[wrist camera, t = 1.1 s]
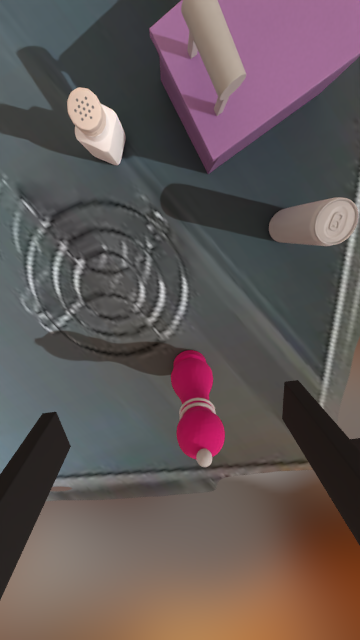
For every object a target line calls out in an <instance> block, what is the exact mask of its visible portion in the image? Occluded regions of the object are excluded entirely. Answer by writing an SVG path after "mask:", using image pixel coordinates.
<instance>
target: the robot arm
mask: <svg viewBox="0 0 360 640" xmlns="http://www.w3.org/2000/svg"><path fill="white" fill-rule="evenodd" d="M282 419H283V421H284V422H285V424H286V426H287V427H288V429H289V431H290V432H291V434H292V435H293V437H294V439H295V440H296V442H297V444H298V445H299V447H300V449H301V450H302V452H303V453H304V455H305V457H306V458H307V460H308V462H309V463H310V465H311V467H312V468H313V470H314V471H315V473H316V475H317V476H318V478H319V480H320V481H321V483H322V485H323V486H324V488H325V489H326V491H327V493H328V494H329V496H330V498H331V499H332V501H333V503H334V504H335V506H336V508H337V509H338V511H339V512H340V514H341V516H342V517H343V519H344V521H345V522H346V524H347V526H348V527H349V529H350V530H351V532H352V533H353V535H354V537H355V538H356V540H357V542H358V543H359V545H360V438H358V439H349V438H348V437H347V436H346V435H345V433H344V432H343V431H342V430H341V429H340V428H339V427H338V425H337V424H336V423H335V422H334V421H333V420H332V419H331V417H330V416H329V415H328V414H327V413H326V412H325V411H324V409H323V408H322V407H321V406H320V405H319V404H318V403H317V401H316V400H315V399H314V398H313V397H312V396H311V395H310V393H309V392H308V391H307V390H306V389H305V388H304V387H303V385H302V384H301V383H300V382H299V381H298V380H296V381H288V382H285V383H284V399H283V415H282ZM70 447H71V446H70V444H69V441H68V439H67V437H66V434H65V432H64V429H63V427H62V425H61V422H60V420H59V418H58V415H57V413H56V412H51V413H43V414H42V415H41V417H40V418H39V420H38V421H37V423H36V424H35V425H34V427H33V428H32V430H31V431H30V433H29V434H28V435H27V437H26V438H25V440H24V441H23V443H22V444H21V445H20V447H19V448H18V450H17V451H16V453H15V454H14V456H13V457H12V458H11V460H10V461H9V463H8V464H7V466H6V467H5V468H4V470H3V471H2V473H1V474H0V599H1V597H2V595H3V593H4V591H5V588H6V586H7V584H8V582H9V580H10V577H11V575H12V573H13V571H14V569H15V567H16V564H17V562H18V560H19V558H20V556H21V554H22V551H23V549H24V547H25V545H26V543H27V540H28V538H29V536H30V534H31V532H32V530H33V527H34V525H35V523H36V521H37V519H38V516H39V514H40V512H41V510H42V508H43V506H44V503H45V501H46V499H47V497H48V495H49V492H50V490H51V488H52V486H53V484H54V482H55V479H56V477H57V475H58V473H59V471H60V468H61V466H62V464H63V462H64V460H65V458H66V455H67V453H68V451H69V449H70Z"/></svg>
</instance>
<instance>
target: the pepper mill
mask: <svg viewBox="0 0 360 640" xmlns="http://www.w3.org/2000/svg"><path fill="white" fill-rule="evenodd" d="M173 367H174V369H173V371H172V374H171V382H172V387H173V389H174V391H175V393H176V394H177V395H178V397H179V398H180V400H181V402H182V406H181V408H180V412H179V415H180V421H179V424H178V426H177V440H178V443H179V446H180V448H181V449H182V451H183V452H184V453H185V454H186V455H187V456H189V457H191V458H193V459H197V462H198V464H199V465H200V466H202V467H207V466H209V465H210V464H211V462H212V457H213V456H215V455H216V454H217V453H218V452H219V451H220V450H221V448H222V446H223V443H224V439H225V431H224V426H223V424H222V421H221V420H220V418H219V417H218V416H217V415H216V412H215V408H214V405H213V404H212V403H211V402H210V401H209V393H210V390H211V388H212V384H213V376H212V371H211V369H210V367H209V366H208V364H206V360H205V358H204V356H203V355H202V354H201V353H199V352H197V351H193V350H187V351H184V352H181V353H180V354H179V355H178V356H177V357H176V358H175V360H174V364H173Z"/></svg>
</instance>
